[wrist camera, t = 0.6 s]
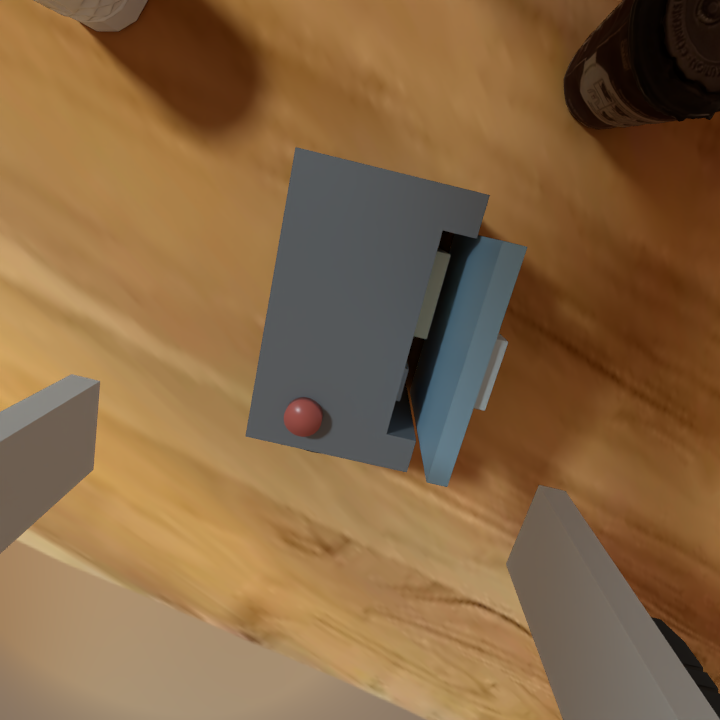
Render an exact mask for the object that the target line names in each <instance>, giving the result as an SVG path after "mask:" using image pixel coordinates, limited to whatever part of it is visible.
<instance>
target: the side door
mask: <svg viewBox="0 0 720 720" xmlns="http://www.w3.org/2000/svg"><path fill="white" fill-rule="evenodd" d="M526 249H527V247H526V246H522V245H518V244H513V243H509V242H505V241H501V240H497V239H492V238H488V237H484V236H479V235H478V236H477V239H476V238H472V237H468V236H464V235H459V234H454V237H453V241H452V244H451V248H450V251H449V254H450V255H451V256H450V259H449V263H448V266H447V270H446V273H445V277H444V280H443V284H442V287H441V291H440V294H439V298H438V301H437V305H436V308H435V312H434V315H433V319H432V322H431V326H430V329H429V333H428V336H427V339H424V343H423V346H422V350H421V353H420V357H419V360H418V364H417V367H416V371H415V374H414V378H413V381H412V385H411V388H410V395H411V400H412V406H413V411H414V416H415V422H416V427H417V433H418V438H419V444H420V449H421V454H422V460H423V465H424V471H425V476H426V482H427V483H432V484H436V485H440V486H445V487H447V486H448V483H449V480H450V477H451V474H452V471H453V468H454V465H455V462H456V459H457V456H458V453H459V450H460V447H461V444H462V441H463V438H464V435H465V432H466V429H467V426H468V423H469V420H470V417H471V414H472V411H473V408H475V409H479V410H484V411H485V409H486V406H487V403H488V400H489V397H490V394H491V391H492V388H493V385H494V383H495V380H496V377H497V374H498V371H499V368H500V365H501V362H502V359H503V356H504V353H505V350H506V348H507V345H508V341H507V340H506V339H505V338H504V337H503V336H502V335H501V334H498V333H499V330H500V327H501V324H502V321H503V318H504V315H505V312H506V309H507V306H508V303H509V300H510V297H511V294H512V291H513V288H514V285H515V282H516V279H517V276H518V273H519V270H520V267H521V264H522V261H523V258H524V255H525V252H526Z"/></svg>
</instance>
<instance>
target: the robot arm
mask: <svg viewBox="0 0 720 720" xmlns="http://www.w3.org/2000/svg"><path fill="white" fill-rule="evenodd" d="M99 388H100V381H97V380H93V379H89V378H85V377H81V376H76V375H72V374H71V375H69V376H67V377H65V378H64V379H62V380H60V381H58V382H56V383H54V384H52V385H50V386H48V387H47V388H45V389H43V390H41V391H39V392H37V393H35V394H33V395H31V396H29V397H28V398H26V399H24V400H22V401H20V402H18V403H16V404H14V405H12V406H11V407H9V408H7V409H5V410H3V411H1V412H0V553H1V552H2V551H4V550H5V549H6V548H7V547H8V546H9V545H10V544H11V543H12V542H14V541H15V540H16V539H17V538H18V537H19V536H20V535H21V534H23V533H24V532H25V531H26V530H27V529H28V528H29V527H30V526H31V525H32V524H34V523H35V522H36V521H37V520H38V519H39V518H40V517H41V516H42V515H44V514H45V513H46V512H47V511H48V510H49V509H50V508H51V507H52V506H54V505H55V504H56V503H57V502H58V501H59V500H60V499H61V498H62V497H63V496H65V495H66V494H67V493H68V492H69V491H70V490H71V489H72V488H73V487H75V486H76V485H77V484H78V483H79V482H80V481H81V480H82V479H83V478H85V477H86V476H87V475H88V474H89V473H90V472H91V471H92V470H93V466H94V453H95V440H96V427H97V414H98V401H99ZM506 565H507V568H508V571H509V574H510V576H511V579H512V582H513V584H514V587H515V590H516V593H517V595H518V598H519V601H520V604H521V606H522V609H523V612H524V614H525V617H526V620H527V623H528V625H529V628H530V631H531V634H532V636H533V639H534V642H535V644H536V647H537V650H538V653H539V655H540V658H541V661H542V664H543V666H544V669H545V672H546V674H547V677H548V680H549V683H550V685H551V688H552V691H553V694H554V696H555V699H556V702H557V704H558V707H559V710H560V713H561V715H562V718H563V720H720V694H719V693H718V688H717V686H716V685H715V684H714V682H713V681H712V679H711V678H710V677H709V675H708V674H707V673H705V672H703V667H702V666H701V664H700V663H699V661H698V660H697V659H696V657H695V656H694V654H693V653H692V652H691V650H690V649H689V647H688V646H687V645H686V643H685V642H684V641H683V640H682V639H681V638H680V637H679V636H678V635H677V634H676V633H674V632H673V631H672V630H671V629H670V628H669V627H668V626H667V625H666V624H665V623H664V622H663V621H662V620H661V619H657V618H652V617H650V615H649V614H648V612H647V611H646V609H645V608H644V606H643V605H642V603H641V602H640V601H639V599H638V598H637V596H636V595H635V593H634V592H633V590H632V589H631V587H630V586H629V584H628V583H627V581H626V580H625V578H624V577H623V575H622V574H621V572H620V571H619V569H618V568H617V567H616V565H615V564H614V562H613V561H612V559H611V558H610V556H609V555H608V553H607V552H606V550H605V549H604V547H603V546H602V544H601V543H600V541H599V540H598V538H597V537H596V536H595V534H594V533H593V531H592V530H591V528H590V527H589V525H588V524H587V522H586V521H585V519H584V518H583V516H582V515H581V513H580V512H579V510H578V509H577V507H576V506H575V504H574V503H573V502H572V500H571V499H570V497H569V496H568V494H567V493H566V491H563V490H559V489H555V488H550V487H546V486H542V485H539V486H538V488H537V491H536V493H535V496H534V498H533V500H532V503H531V505H530V508H529V510H528V512H527V515H526V517H525V520H524V522H523V524H522V527H521V529H520V532H519V534H518V536H517V539H516V541H515V544H514V546H513V548H512V551H511V553H510V556H509V558H508V561H507V563H506Z"/></svg>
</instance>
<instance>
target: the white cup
mask: <svg viewBox="0 0 720 720" xmlns="http://www.w3.org/2000/svg"><path fill="white" fill-rule="evenodd" d="M33 1H35V2H37V3H40V4H41V5H43V6H45V7H47V8H49V9H51V10H53V11H55V12H57V13H59V14H61V15H63V16H67V17H70V18H72V19H75V20H77V21H78V22H80V23H82V24H84V25H86V26H88V27H90V28H92V29H94V30H95V31H120V30H122V29H124V28H125V27H127V26H128V25H130V24H132V23H133V22H135V21H136V20H137V19H138V17H139V15H140V13H141V12H142V10H143V8H144V6H145V5H146V3H147V1H148V0H33Z"/></svg>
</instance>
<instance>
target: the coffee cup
mask: <svg viewBox="0 0 720 720" xmlns="http://www.w3.org/2000/svg"><path fill="white" fill-rule="evenodd" d="M564 94H565V101H566V105H567V107H568V109H569V111H570V112H571V114H572V115H573V116H574V117H575V118H576V119H577V120H579V121H580V122H581V123H582V124H584V125H585V126H587V127H590V128H595V129H609V128H614V127H617V126H618V127H630V126H639V125H643V124H657V123H664V122H669V121H676V120H678V121H683V120H685V119H686V118H690V119H695V118H706V119H708V120H710V119H711V118H712V117H713V115H714V113H715V112H718V111H720V0H623V1H622V2H621V3H620V4H619V5H618V6H617V7H616V8H615V9H614V10H613V11H612V12H611V13H610V14H609V15H608V17H607V18H606V19H605V20H604V21H603V22H602V23H601V24H600V25H599V27H598V28H597V29H596V30H595V31H593V32H592V33H591V35H590V36H589V37H588V38H587V39H586V41H585V42H584V44H583V45H582V46H581V47H580V49H579V50H578V51H577V53H576V54H575V56H574V57H573V59H572V61H571V63H570V64H569V67H568V69H567V72H566V74H565V76H564Z"/></svg>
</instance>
